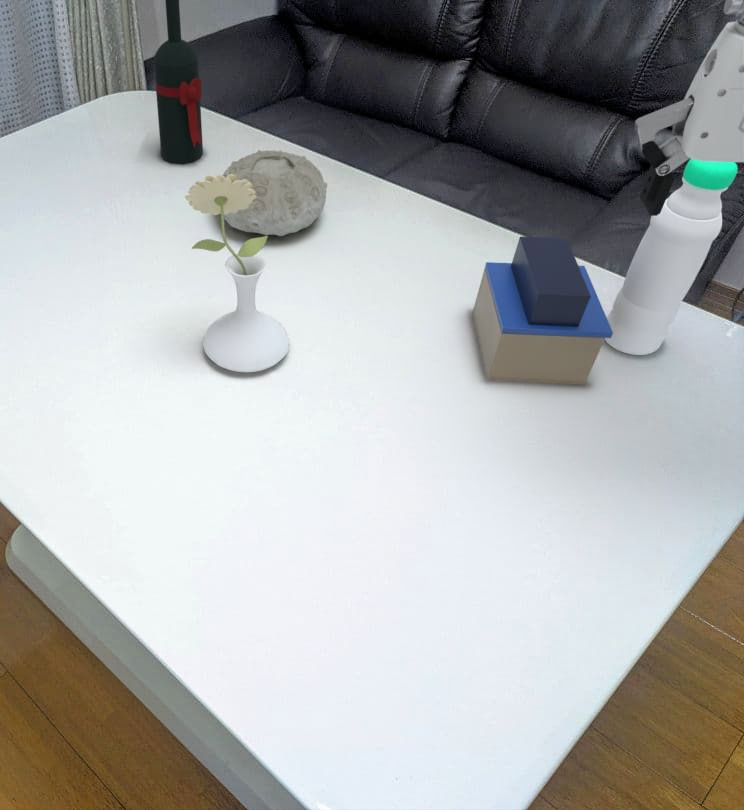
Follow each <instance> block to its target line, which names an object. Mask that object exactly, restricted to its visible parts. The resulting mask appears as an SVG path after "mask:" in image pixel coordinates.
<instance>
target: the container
mask: <svg viewBox="0 0 744 810" xmlns="http://www.w3.org/2000/svg"><path fill="white" fill-rule="evenodd" d="M481 276H482V277H481V279H480V284H479V288H478V290H477V294H476V298H475V302H474V306H473V309H472V313H471V314H472V318H473V323H474V327H475V332H476V336H477V340H478V341H477V342H478V346H479V351H480V355H481V360H482V363H483V368H484V373H485V377H486V380H487V381H503V382H523V383H541V384H562V385H583V386H585V385H586V382H587V380H588V378H589V376H590V373H591V371H592V369H593V367H594V364H595V362H596V360H597V359H598V356H599V354H600V352H601V349H602V346H603V344H604V342H605V338H599V337H578V336H557V335H535V334H514V333H502V331H501V327H500V323H499V319H498V315H497V312H496V308H495V304H494V300H493V296H492V292H491V288H490V284H489V281H488V277H487V273H486V269H485V268H484V269H483V272H482V275H481Z"/></svg>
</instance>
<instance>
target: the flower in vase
mask: <svg viewBox="0 0 744 810" xmlns="http://www.w3.org/2000/svg"><path fill="white" fill-rule="evenodd" d="M235 180H236V176H235V175H234V174H230V175H228V176H227V177H226V178H225V176H223V174H218V175H216V177H215V176H214V175H211V174H208V175H206V176H205V177H204V180H197V181H196V182H195V184H193V185H192V186H190V188H189V190H188V192H187V193H188V194H186V195H185V196H184V199H185V200H187V201H188V205H189V206H190V207H192V209H193V210H194V211H199V212H200V213H202V214H210V213H211V215H212V216H217V215H220V220H221V221H220V223H221V237H222V240H223V242H222V241H218V240H215V239H210V238H206V239H201V240H199V241H198V242H196V243H195V244H194V245H193V246H192V247H191V249H192V250H195V249H196V250H204V251H208V252H209V251H210V252H219V251H221V250H223V249H224V248H225V247H226V248H227V249H228V251H229V252H230V253H231V256H229V257H228V258H227V260H226V261H225V264H224V266H225V269H226V271H227V272H228V273H229V274H230V275H231V276H232V278H233V280H234V284H235V289H236V298H237V299H236V300H237V301H236V309H235V310H233V311H230V312H228V313H226V314H223V315H222V316H220V317H219V318H217V319H216V320H214V321H213V322H212V323H211V324H210V325H209V326H208V328H207V329H206V332H205V334H204V336H203V340H202V345H203V346H202V347H203V350H204V353H205V354H206V356H207V357H208V358H209V360H211V361H212V362H214V363H215V364H216V365H217V366H218V367H221V368H223V369H225V370H228V371H232V372H235V373H236V372H237V373H255V372H260V371H264V370H267V369H269V368H272V367H273V366H275V365H277V364H278V363H279V362H280V361H281V360H283V358H284V357H285V356H286V355H287V353H288V351H289V349H290V344H291V340H290V337H289V334H288V331H287V330H286V328H285V326H284V325H283V324H282V323H281V321H279V320H277V319H276V318H275V317H273V316H271V315H269V313H268V314H267V313H265V312H262V311H259V310H257V307H256V291H257V285H258V281H259V279H260V277H261V275H262V274H263V273H264V272H265V271H266V269H267V267H268V262H267V260H266V259H265V258H264V257H263V256H262V255H259V254H258V253H259V252H260V251H261V250H262V249H263V247H264V246H265V245H266V242H267V240H268V237H269V235H264V236H260V237H253V238H249V239H247V240H246V241H244V242H243V244H242V246H240V249H239V250H238V252H237V253H236V252H235V251H234V249H232V247H231V246H230V244H229V243H228V241H227V238H226V231H225V220H224V215H227V214H229V213H235V212H238V210H239V209H240V210H244V209H247V208H248V207H249V206H248V205H249V204H251V203H252V202H253V201H252V200H254V199H256V196H255V195H254V194H255V192H256V191H254V190H253V189H249V188H250V187H251V186H252V183H250V182H248V180H246V179H243V180H237V181H235Z"/></svg>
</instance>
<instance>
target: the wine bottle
mask: <svg viewBox="0 0 744 810" xmlns="http://www.w3.org/2000/svg"><path fill="white" fill-rule="evenodd" d="M165 14H166V15H165V16H166V28H167V40H166V41H164V42H163V43H162V44H161V45H160V46H159V47H158V49H157V50H156V52H155V54H154V58H153V68H154V80H155V81H154V83H155V91H156V92H155V93H156V106H157V118H158V120H157V121H158V133H159V146H160V156H161V158H162V160H163V161H164V162H166V163H168V164H171V165H189V164H193V163H196V162H197V161H199V160H200V159H202V156H203V155H204V147H203V146H204V145H203V127H202V106H201V98H202V81H201V79H200V68H199V66H200V65H199V56H198V54H197V52H196V49H194V47H193V46H192V45H191V44H190V43H189V42H187V41H186V40H184V39H182V29H181V10H180V0H165Z"/></svg>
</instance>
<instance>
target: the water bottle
mask: <svg viewBox="0 0 744 810" xmlns="http://www.w3.org/2000/svg"><path fill="white" fill-rule="evenodd" d="M738 169H739V167H738V164H737V162H705V161H697V160H693V159H691V158H690V159H688V162H686V165H685V168H684V170H683V173H682V177H681V181H682V185H681V186H680V187H679V188H678V189H676V190H675V191H673V192H672V193H671V194H670V195H669V197H667V198H666V201H665V203H664V205H663V208H662V210H661V212H660V214H658V215H657V216H651V217H650V221H649V226H648V227H647V229H646V231H645V233H644V234H643V236H642V238H641V240H640V243H639V245H638V247H637V249H636V251H635V253H634V255H633V257H632V259H631V263H630V264H629V267H628V270H627V272H626V275H625V278H624V281H623V284H622V286H621V288H620V289H619V291H618V292H617V294H616V296H615V299H614V300H613V304H612V309H611V311H610V312H609V314H608V315H607V316H606V318H607V320H608V322H609V325H610V327H611V329H612V332H613V334H612V337H611V338H605V340H604V342H605V343H606V344H608V345H609V346H610V347H612V349H614V350H617V351H619V352H621V353H624V354H627V355H633V356H645V355H646V356H647V355H650V354H653V353H654V352H656V351H657V350H659V348H660V347H661V345H662V344H663V341H664V339H665V337H666V336H667V333H668V330H669V327H670V326H671V324H672V323H673V321H674V320H675V318H676V317H677V314H678V312H679V310H680V306H681V303H682V301H684V299H685V297H686V295H687V294H688V292H689V290H690V289H691V287H692V285H693V284H694V282H695V280H696V278H697V277H698V274H699V272H700V270H701V268H702V266H703V264H704V263H705V260H706V258H707V256H708V253H709V251H710V249H711V246H712V244H713V241H714V240H716V238H717V237H718V236H719V234H720V233H721V231H722V228H723V213H722V209H723V202H722V199H721V195H722V193H723V192H725V191H727V190H728V189H729V187H730V186H732V183H733V182H734V180H735V179H736V177H737V174H738Z"/></svg>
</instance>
